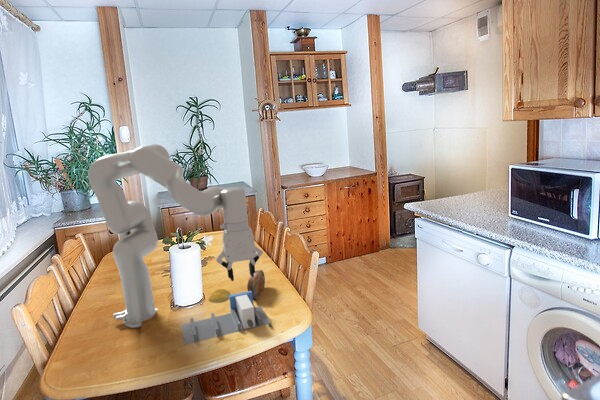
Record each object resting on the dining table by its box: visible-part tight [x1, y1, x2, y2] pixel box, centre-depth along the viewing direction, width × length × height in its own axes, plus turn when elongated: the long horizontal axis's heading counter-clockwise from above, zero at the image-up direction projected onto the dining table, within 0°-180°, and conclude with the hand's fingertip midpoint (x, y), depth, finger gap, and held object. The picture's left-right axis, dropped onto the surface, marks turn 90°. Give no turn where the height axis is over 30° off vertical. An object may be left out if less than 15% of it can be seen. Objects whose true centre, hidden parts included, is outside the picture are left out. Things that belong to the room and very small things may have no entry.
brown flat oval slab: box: [246, 269, 266, 300], centre depth 156 cm, size 15×3×8 cm, turn 168°
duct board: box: [181, 290, 272, 346], centre depth 132 cm, size 28×13×8 cm, turn 110°
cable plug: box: [235, 294, 255, 330], centre depth 132 cm, size 4×14×7 cm, turn 21°
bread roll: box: [207, 288, 232, 304], centre depth 153 cm, size 8×9×4 cm
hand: (241, 276), depth 131 cm, fingers open, 6 cm apart
